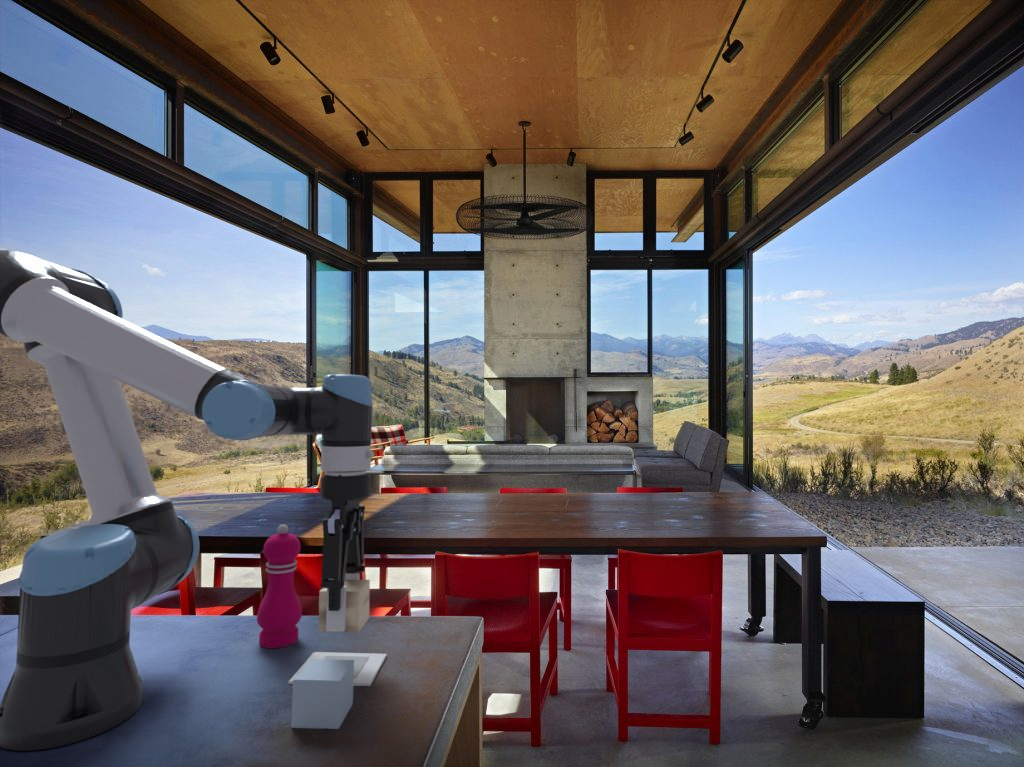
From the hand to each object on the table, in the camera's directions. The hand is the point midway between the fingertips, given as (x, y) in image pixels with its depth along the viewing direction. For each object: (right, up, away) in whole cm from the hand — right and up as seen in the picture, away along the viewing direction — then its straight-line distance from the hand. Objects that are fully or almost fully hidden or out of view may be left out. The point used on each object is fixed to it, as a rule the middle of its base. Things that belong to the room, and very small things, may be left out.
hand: (343, 621), depth 87 cm
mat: (0, -7, 0) cm, 7 cm away
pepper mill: (-14, -8, +10) cm, 19 cm away
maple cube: (0, 0, 0) cm, 0 cm away
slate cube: (+1, -7, -13) cm, 15 cm away
